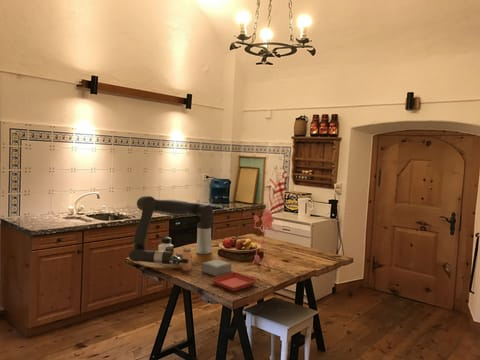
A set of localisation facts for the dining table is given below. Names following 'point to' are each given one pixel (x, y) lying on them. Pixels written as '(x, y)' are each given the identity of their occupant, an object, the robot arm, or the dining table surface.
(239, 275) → the plant saucer
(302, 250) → the dining table surface
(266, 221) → the figurine
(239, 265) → the dining table surface
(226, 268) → the grey lidded square box
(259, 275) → the dining table surface
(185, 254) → the jar
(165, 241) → the medicine bottle
